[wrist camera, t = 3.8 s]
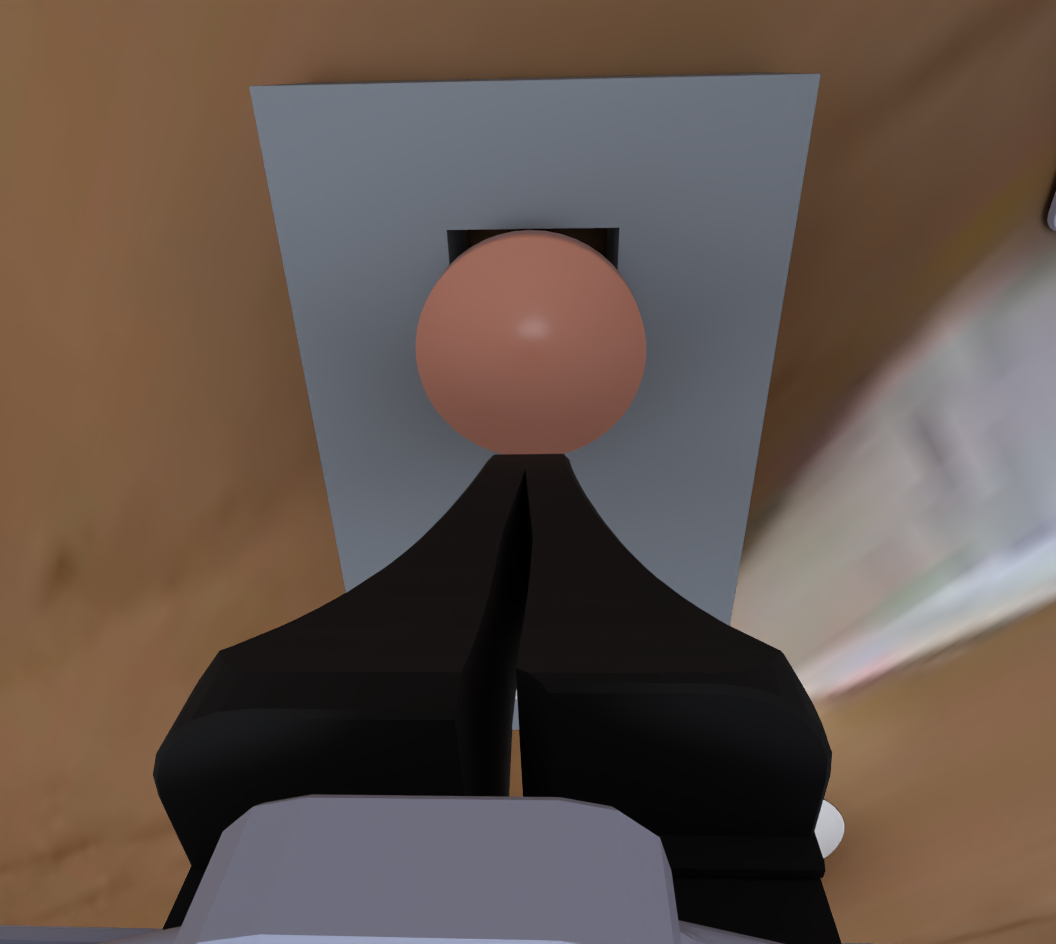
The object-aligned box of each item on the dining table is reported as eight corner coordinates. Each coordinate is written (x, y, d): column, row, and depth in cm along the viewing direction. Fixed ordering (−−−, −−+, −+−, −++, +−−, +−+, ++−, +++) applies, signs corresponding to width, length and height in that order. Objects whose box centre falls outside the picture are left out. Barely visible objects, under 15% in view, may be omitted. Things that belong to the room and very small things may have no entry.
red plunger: (633, 201, 17) (654, 236, 13) (624, 387, 19) (639, 458, 16) (434, 204, 17) (403, 239, 13) (449, 388, 19) (426, 458, 16)
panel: (768, 72, 18) (820, 73, 14) (692, 649, 28) (712, 732, 24) (306, 83, 18) (249, 85, 15) (394, 647, 28) (371, 727, 25)
